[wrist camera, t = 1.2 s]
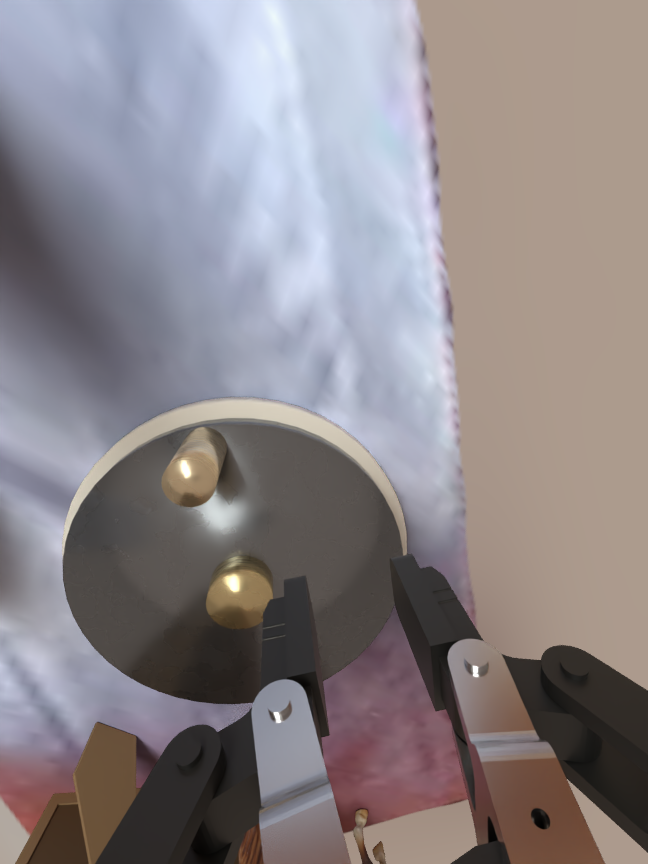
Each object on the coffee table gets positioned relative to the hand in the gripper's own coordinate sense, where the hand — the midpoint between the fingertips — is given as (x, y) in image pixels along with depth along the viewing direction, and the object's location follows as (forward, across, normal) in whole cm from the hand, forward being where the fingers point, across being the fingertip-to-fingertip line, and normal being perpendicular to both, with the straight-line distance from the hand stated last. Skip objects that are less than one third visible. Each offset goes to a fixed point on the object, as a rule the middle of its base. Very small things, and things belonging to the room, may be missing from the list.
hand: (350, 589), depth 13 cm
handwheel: (+19, +8, +12) cm, 23 cm away
